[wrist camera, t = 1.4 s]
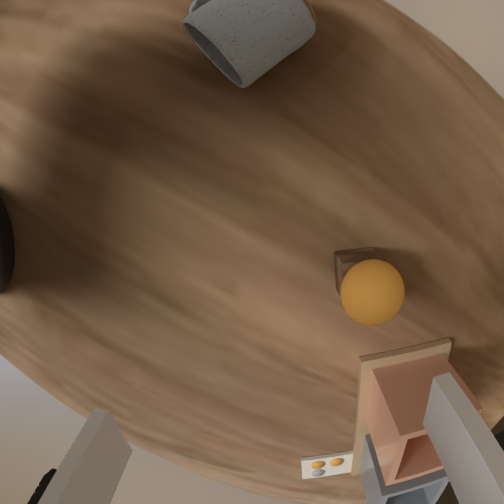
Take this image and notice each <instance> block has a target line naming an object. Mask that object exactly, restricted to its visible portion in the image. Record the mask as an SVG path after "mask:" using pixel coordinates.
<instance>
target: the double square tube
mask: <svg viewBox="0 0 504 504" xmlns="http://www.w3.org/2000/svg"><path fill="white" fill-rule="evenodd" d="M451 344H452V341H451V340H450V339H449V338H445V339H441V340H437V341H433V342H429V343H424V344H420V345H416V346H411V347H407V348H402V349H398V350H393V351H388V352H383V353H378V354H372V355H367V356H361V357H359V374H358V392H357V406H356V418H355V429H354V439H353V448H352V451H353V457H352V465H351V472H350V475H351V476H352V475H357V474H360V475H361V479H362V483H363V488H364V492H365V497H366V501H367V504H435V503H436V502H437V500H438V498H439V497H440V495H441V493H442V492H443V490H444V488H445V487H446V485H447V483H448V482H449V479H448V476H447V474H446V472H445V470H444V467H443V465H442V463H441V461H440V459H439V457H438V454H437V452H436V450H435V448H434V446H433V444H432V442H431V440H430V438H429V436H428V434H427V432H426V430H425V428H424V426H423V420H424V416H425V412H426V408H427V404H428V399H429V395H430V390H431V385H432V380H433V377H435V376H438V375H442V374H445V373H448V372H450V374H451V375H452V376H453V378H454V379H455V381H456V382H457V383H458V385H459V386H460V387H461V389H462V390H463V392H464V393H465V394H466V396H467V397H468V399H469V400H470V402H471V403H472V404H473V406H474V407H475V409H476V410H477V412H478V413H479V415H481V413H482V410H483V407H482V406H481V405H480V403H479V402H478V400H477V399H476V398H475V396H474V395H473V393H472V392H471V391H470V389H469V388H468V387H467V385H466V384H465V383H464V381H463V380H462V379H461V377H460V376H459V375H458V373H457V372H456V371H455V370H454V368H453V367H452V366H451V364H450V363H449V362H448V359H449V355H450V349H451Z"/></svg>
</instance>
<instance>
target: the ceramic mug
mask: <svg viewBox="0 0 504 504" xmlns="http://www.w3.org/2000/svg"><path fill="white" fill-rule="evenodd" d="M182 24H183V26H184V28H185V30H186V31H187V33H188V34H189V35H190V37H191V38H192V40H193V41H194V42H195V43H196V44H197V46H198V47H199V48H200V49H201V50H202V52H203V53H204V54H205V55H206V56H207V57H208V58H209V59H210V60H211V61H212V62H213V64H214V65H215V66H216V67H217V68H218V69H219V70H220V71H221V72H222V73H223V74H224V75H225V76H227V78H228V79H230V80H231V81H232V82H233V83H234V84H236V85H237V86H239V87H242V88H246V87H248V86H249V85H251V84H252V83H253V82H254V81H255V80H257V79H258V78H259V77H260V76H262V75H263V74H264V73H266V72H267V71H268V70H270V69H271V68H272V67H274V66H275V65H276V64H277V63H279V62H280V61H281V60H283V59H284V58H285V57H287V56H288V55H289V54H291V53H292V52H294V51H295V50H297V49H298V48H300V47H301V46H302V45H304V44H305V43H306V42H307V41H308V40H309V39H310V38H311V37H312V36H313V35H314V33H315V31H316V27H317V21H316V16H315V12H314V10H313V8H312V6H311V4H310V2H309V1H308V0H195V1H194V2H193V3H192V4H191V6H190V9H189V15H188V16H186V17H185V18H184V19H183V20H182Z"/></svg>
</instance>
